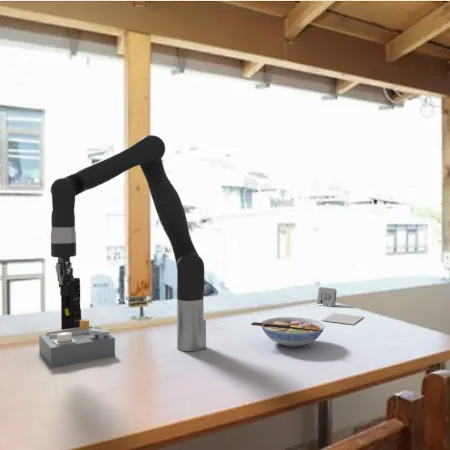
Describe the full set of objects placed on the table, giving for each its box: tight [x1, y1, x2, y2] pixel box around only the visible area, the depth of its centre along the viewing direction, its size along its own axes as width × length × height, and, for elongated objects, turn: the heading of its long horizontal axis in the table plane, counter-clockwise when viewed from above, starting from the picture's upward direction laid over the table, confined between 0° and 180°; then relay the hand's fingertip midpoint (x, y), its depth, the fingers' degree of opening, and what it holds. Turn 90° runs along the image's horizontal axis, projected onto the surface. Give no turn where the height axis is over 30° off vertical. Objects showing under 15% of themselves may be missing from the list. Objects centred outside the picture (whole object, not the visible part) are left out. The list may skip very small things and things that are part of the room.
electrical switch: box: [316, 286, 337, 307], centre depth 225 cm, size 9×5×9 cm, turn 53°
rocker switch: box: [88, 328, 111, 336], centre depth 144 cm, size 6×4×1 cm, turn 123°
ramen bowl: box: [250, 316, 325, 348], centre depth 155 cm, size 25×23×8 cm
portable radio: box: [58, 272, 82, 330], centre depth 163 cm, size 8×6×25 cm
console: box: [38, 325, 116, 369], centre depth 145 cm, size 20×18×8 cm
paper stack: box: [321, 312, 364, 325], centre depth 187 cm, size 23×25×1 cm
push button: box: [57, 332, 72, 342], centre depth 138 cm, size 4×4×2 cm
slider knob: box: [80, 318, 90, 330], centre depth 151 cm, size 2×3×4 cm
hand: (64, 296), depth 138 cm, fingers closed
